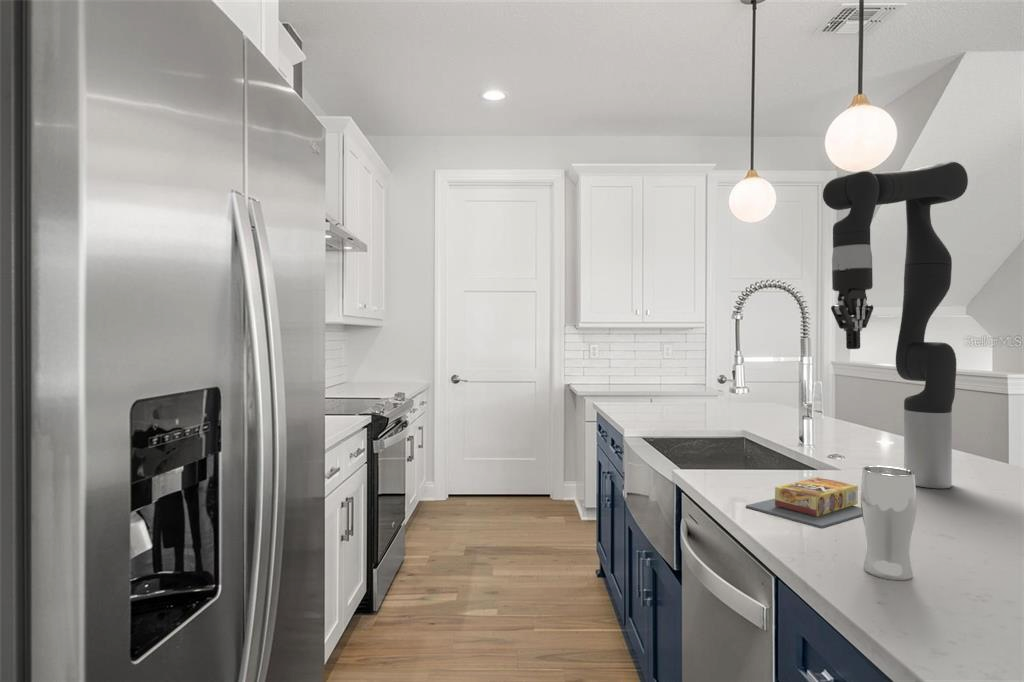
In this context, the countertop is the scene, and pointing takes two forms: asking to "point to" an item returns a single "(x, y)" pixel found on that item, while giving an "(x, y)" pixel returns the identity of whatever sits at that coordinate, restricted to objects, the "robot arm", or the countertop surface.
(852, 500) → the candy box
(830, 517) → the slate mat
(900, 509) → the beer glass
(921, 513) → the countertop surface
